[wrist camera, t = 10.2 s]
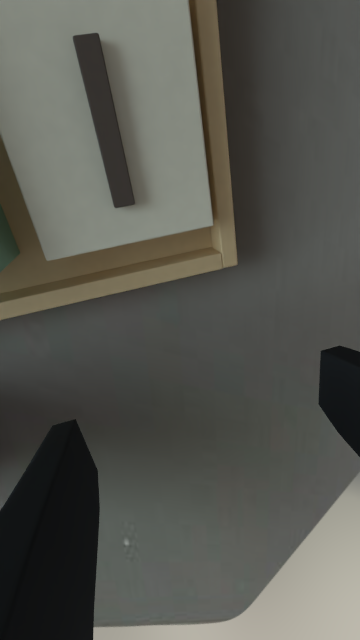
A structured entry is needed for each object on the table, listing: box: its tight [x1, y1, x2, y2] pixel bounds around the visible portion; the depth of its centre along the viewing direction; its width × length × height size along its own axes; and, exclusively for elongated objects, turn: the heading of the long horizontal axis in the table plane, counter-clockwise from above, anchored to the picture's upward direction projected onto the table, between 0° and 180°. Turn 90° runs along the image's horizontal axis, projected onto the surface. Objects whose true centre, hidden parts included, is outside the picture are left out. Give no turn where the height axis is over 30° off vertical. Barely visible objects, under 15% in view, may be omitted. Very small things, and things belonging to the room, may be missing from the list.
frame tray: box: [0, 0, 238, 320], centre depth 12 cm, size 18×13×2 cm
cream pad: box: [0, 0, 213, 261], centre depth 12 cm, size 7×8×3 cm
